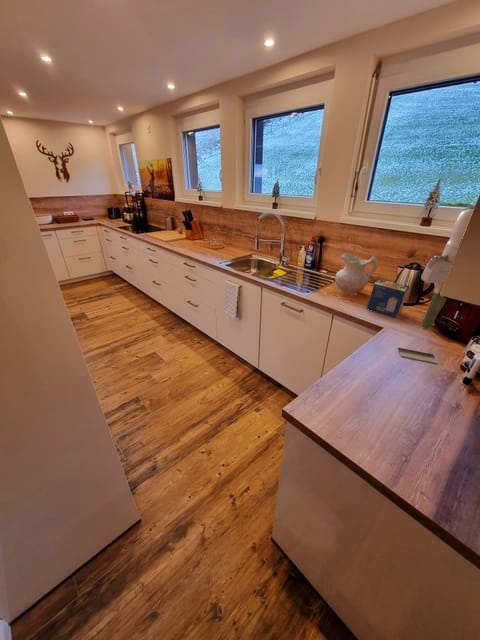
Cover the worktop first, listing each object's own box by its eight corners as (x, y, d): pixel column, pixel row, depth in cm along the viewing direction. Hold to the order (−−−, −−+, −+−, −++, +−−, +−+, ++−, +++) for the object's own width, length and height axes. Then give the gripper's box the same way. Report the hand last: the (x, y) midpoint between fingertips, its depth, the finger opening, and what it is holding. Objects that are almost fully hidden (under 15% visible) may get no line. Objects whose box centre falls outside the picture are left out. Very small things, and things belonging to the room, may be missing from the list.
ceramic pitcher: (365, 290, 176) (374, 253, 165) (371, 300, 158) (382, 258, 148) (331, 287, 180) (338, 250, 169) (334, 295, 162) (342, 255, 152)
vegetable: (418, 326, 108) (438, 279, 98) (431, 328, 106) (451, 281, 97) (420, 330, 104) (440, 283, 95) (432, 333, 103) (454, 285, 93)
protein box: (371, 303, 154) (379, 278, 147) (400, 312, 145) (410, 286, 138) (365, 309, 147) (373, 283, 140) (395, 318, 138) (405, 291, 131)
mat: (429, 349, 113) (430, 348, 113) (436, 364, 104) (437, 362, 104) (396, 342, 117) (396, 341, 117) (400, 356, 108) (401, 355, 107)
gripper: (440, 258, 86) (424, 297, 93) (490, 257, 90) (472, 294, 97) (424, 253, 92) (411, 290, 98) (473, 252, 95) (456, 288, 102)
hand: (441, 292), depth 97 cm, fingers closed on vegetable, 3 cm apart
